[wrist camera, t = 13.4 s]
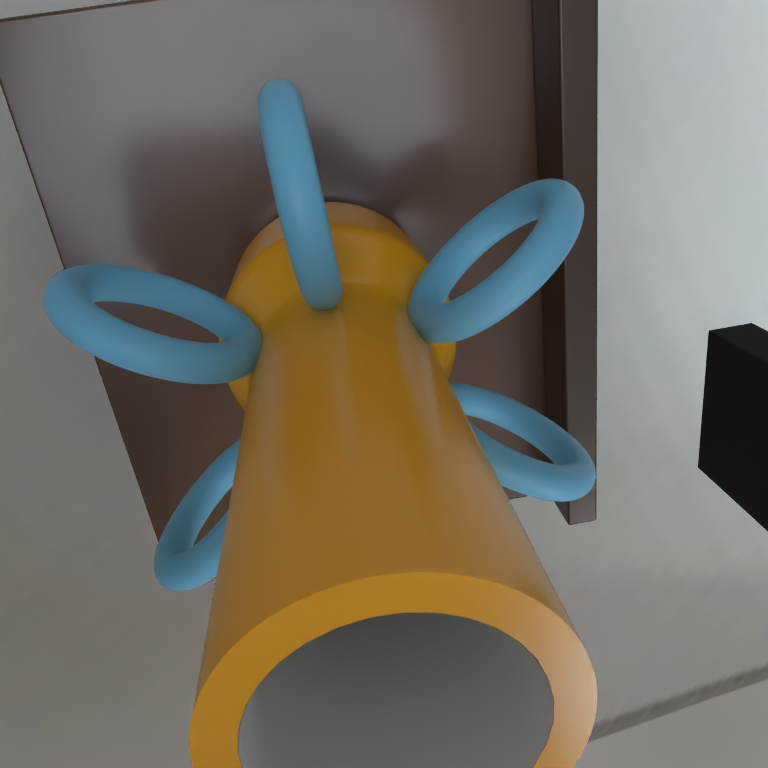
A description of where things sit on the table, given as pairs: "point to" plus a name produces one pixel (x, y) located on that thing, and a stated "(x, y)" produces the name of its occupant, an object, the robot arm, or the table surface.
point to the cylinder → (362, 486)
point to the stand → (335, 168)
